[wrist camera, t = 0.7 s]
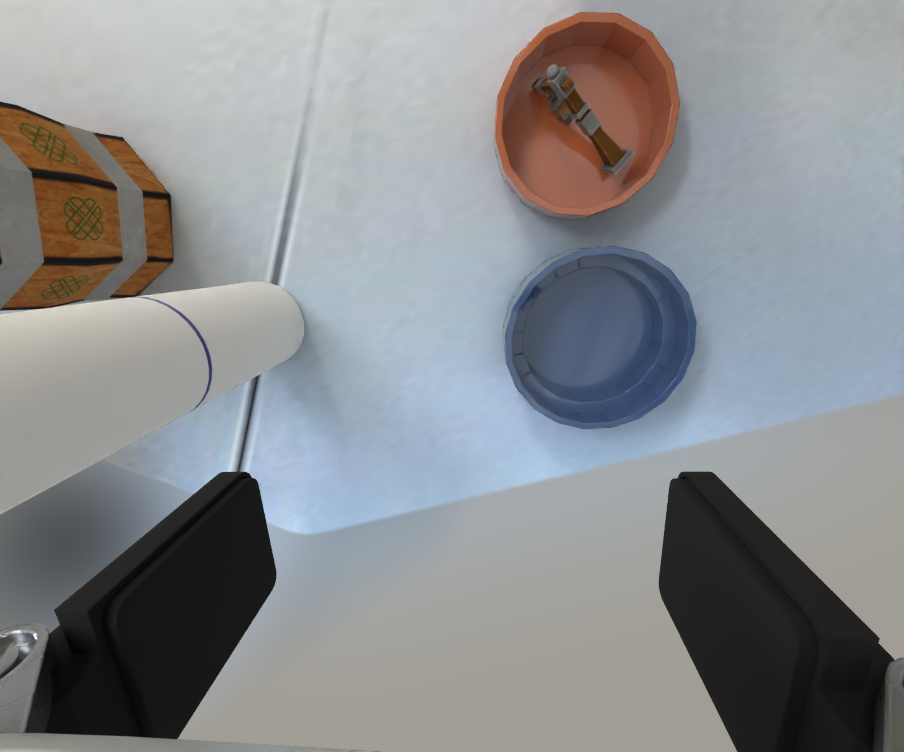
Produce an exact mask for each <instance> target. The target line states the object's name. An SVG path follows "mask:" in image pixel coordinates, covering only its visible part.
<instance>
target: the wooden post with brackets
mask: <svg viewBox="0 0 904 752" xmlns="http://www.w3.org/2000/svg"><path fill="white" fill-rule="evenodd" d="M547 76H548V77H549V78H548V77H547ZM547 76H542V77H541V78H537V79H536V81H535V82H534V83H533V85H532V86H531V87H532V88H533V89H534V90H535V92H538V93H539V92H540V94H546V95H549V98H548V101H551V102H552V104H551V106H550V108H549V109H548V110H553V111H554V112H555V114H556V115H557V117H558V120H559V121H565V122H566V123H570V122H572V120H573V119H576V121H575V123H576V124H577V125H578V126H579V128H580V129H581V130H582V132H583V134H584V135H587V136H588V137H589V138H590V140H591V141H592V142H593V144H594V146H595V148H596V149H597V151H598V153H599V155H600V156H601V158H602V161H603V163H604V164H603V165H602V166H601V167H600V168H601V170H602V172H604V173H608V174H613V175H616V174H617V173H618V172H619V171H620V170H621V168H622V167H623V166H624V165H625V164H626V163H627V162H628V161H629V159H630V158H631V157H632V156H633V155H634V154H635V152H633V151H632V149H627V148H621V147H619V146H618V145H617V144H616V143H615V142H614V141H613V140H612V139H611V138H610V137H609V136H608V135H607V134H606V132H605V131H604V130H603V129H602V127H601V126H600V125H601V122H600V121H599V120H598V118H597V117H596V115H595V114H594V111H593V109H589V107H590V105H589V104H588V102H584V101H583V100H582V98H581V97H580V95H579V94H578V92H577V91H576V89H575V87H576V84H575V83H574V82H573V80H572V79H571V77H570V76H569V74H568V73H567V71H566V68H565V67H563V68H558V66H557V65H555V64H552V65H550V66H549V67H548V69H547ZM546 92H548V94H547V93H546ZM551 92H552V93H551Z"/></svg>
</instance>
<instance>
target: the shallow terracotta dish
mask: <svg viewBox="0 0 904 752" xmlns="http://www.w3.org/2000/svg"><path fill="white" fill-rule="evenodd" d="M552 64H555V65H557V66H558V68H563V67H565V68H566V71H567V73H568V74H569V76H570V77H571V79H572V80H573V82H574V83H575V84H576V87H575V89H576V91H577V92H578V94H579V95H580V97H581V98H582V100H583V101H584V102H588V104H589V105H590V107H589V109H593V111H594V114H595V115H596V117H597V118H598V120H599V121H600V122H601V125H600V126H601V127H602V129H603V130H604V131H605V132H606V134H607V135H608V136H609V137H610V138H611V139H612V140H613V141H614V142H615V143H616V144H617V145H618V146H619V147H621V148H627V149H632V151H633V152H635V154H634V155H633V156H632V157H631V158H630V159H629V161H628V162H627V163H626V164H625V165H624V166H623V167H622V168H621V170H620V171H619V172H618V173H617V174H616V175H613V174H608V173H604V172H602V170H601V168H600V167H601V166H602V165H603V164H604V163H603V161H602V158H601V156H600V155H599V153H598V151H597V149H596V148H595V146H594V144H593V142H592V141H591V140H590V138H589V137H588V136H587V135H584V134H583V132H582V130H581V129H580V128H579V126H578V125H577V124H576V123H575V121H576V119H573V120H572V122H570V123H566V122H565V121H559V120H558V117H557V115H556V114H555V112H554V111H553V110H548V109H549V108H550V106H551V104H552V102H551V101H548V98H549V95H546V94H540V92H539V93H538V92H535V90H534V89H533V88H532V87H531V86H532V85H533V83H534V82H535V81H536V79H537V78H541V77H542V76H547V69H548V67H549V66H550V65H552ZM547 77H548V76H547ZM548 78H549V77H548ZM546 93H547V94H548V92H546ZM551 93H552V92H551ZM679 107H680V100H679V95H678V89H677V83H676V78H675V72H674V66H673V63H672V61H671V60H670V59H669V57H668V56H667V54H666V53H665V51H664V50H663V48H662V47H661V45H660V44H659V42H658V41H657V39H656V38H655V36H654V35H653V33H652V32H651V31H649V30H648V29H646V28H644V27H642V26H640V25H639V24H637V23H635V22H633V21H632V20H630V19H628V18H626V17H624V16H623V15H621V14H618V13H594V12H581V13H577V14H575V15H573V16H570V17H568V18H566V19H564V20H561V21H559V22H557V23H554V24H552V25H550V26H548V27H545V28H544V29H542V30H541V31H540V32H539V33H538V34H537V35H536V37H535V38H534V39H533V40H532V41H531V42H530V43H529V44H528V45H527V46H526V47H525V48H524V49H523V50H522V51H521V52H520V53H519V54H518V55H517V56H516V57H515V59H514V60H513V62H512V65H511V67H510V69H509V71H508V74H507V76H506V78H505V80H504V82H503V85H502V87H501V89H500V91H499V94H498V97H497V107H496V119H495V131H494V149H495V153H496V156H497V160H498V164H499V167H500V170H501V174H502V177H503V179H504V181H505V182H506V183H507V184H508V186H509V187H510V188H511V190H512V191H513V192H514V194H515V195H516V196H517V197H518V198H519V200H520V201H521V202H522V203H523V204H525V205H527V206H529V207H531V208H532V209H534V210H535V211H538V212H540V213H542V214H544V215H546V216H548V217H554V218H570V219H581V218H584V217H587V216H590V215H593V214H596V213H598V212H601V211H604V210H607V209H610V208H613V207H615V206H618V205H621V204H623V203H624V202H625V201H627V200H628V199H629V198H630V197H631V196H632V195H634V194H635V193H636V192H637V191H638V190H640V189H641V188H642V187H643V186H644V185H645V184H647V183H648V182H649V181H650V180H651V179H652V178H653V176H654V174H655V173H656V171H657V169H658V168H659V166H660V164H661V163H662V161H663V159H664V157H665V156H666V154H667V152H668V151H669V149H670V147H671V145H672V143H673V138H674V132H675V127H676V122H677V117H678V112H679Z"/></svg>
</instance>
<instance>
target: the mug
mask: <svg viewBox="0 0 904 752" xmlns="http://www.w3.org/2000/svg"><path fill="white" fill-rule="evenodd" d="M172 262H173V244H172V225H171V205H170V194H169V193H168V192H167V191H166V189H165V188H164V187H163V186H162V185H161V183H160V182H159V181H158V180H157V179H156V177H155V176H154V175H153V174H152V173H151V171H150V170H149V169H148V168H147V167H146V165H145V164H144V163H143V162H142V161H141V159H140V158H139V157H138V156H137V155H136V153H135V152H134V151H133V150H132V149H131V147H130V146H129V145H128V144H127V143H126V141H125V140H124V139H123V138H122V137H116V136H110V135H104V134H98V133H92V132H89V131H85V130H82V129H79V128H75V127H72V126H69V125H65V124H62V123H60V122H57V121H55V120H52V119H50V118H47V117H45V116H42V115H40V114H37V113H35V112H32V111H30V110H27V109H25V108H22V107H20V106H17V105H13V104H8V103H4V102H0V311H1V310H26V309H45V308H52V307H57V306H61V305H66V304H70V303H75V302H80V301H85V300H93V299H102V298H130V297H136V296H138V295H139V294H140V293H141V292H142V291H143V290H144V289H145V288H146V287H147V286H148V285H149V284H150V283H151V282H152V281H153V280H154V279H155V278H156V277H157V276H158V275H159V274H161V273H162V272H163V271H164V270H165V269H166V268H167V267H168V266H169V265H170V264H171V263H172Z"/></svg>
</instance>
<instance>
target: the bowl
mask: <svg viewBox="0 0 904 752" xmlns="http://www.w3.org/2000/svg"><path fill="white" fill-rule="evenodd" d="M503 334H504V350H505V357H506V363H507V366H508V369H509V371H510V374H511V376H512V379H513V381H514V384H515V386H516V388H517V390H518V391H519V392H520V393H521V394H522V396H523V397H524V398H525V399H526V400H527V401H528V402H529V404H530V405H531V406H532V407H533V408H534V409H535V410H537V411H539V412H540V413H542V414H544V415H545V416H547V417H549V418H550V419H552V420H554V421H555V422H558V423H561V424H565V425H569V426H574V427H578V428H582V429H594V428H612V427H615V426H618V425H621V424H624V423H627V422H630V421H633V420H636V419H639V418H641V417H642V416H644V415H645V414H647V413H648V412H650V411H651V410H652V409H654V408H655V407H657V406H658V405H660V404H661V403H663V402H664V401H665V400H666V399H667V397H668V396H669V395H670V394H671V393H672V391H673V390H674V389H675V388H676V387H677V385H678V384H679V383H680V382H681V380H682V379H683V378H684V375H685V373H686V370H687V368H688V365H689V363H690V361H691V358H692V356H693V353H694V349H695V335H696V318H695V315H694V311H693V308H692V304H691V301H690V297H689V294H688V292H687V291H686V289H685V288H684V287H683V285H682V284H681V283H680V281H679V280H678V279H677V277H676V276H675V275H674V273H673V272H672V271H671V270H670V269H669V268H668V267H666V266H664V265H663V264H661V263H660V262H658V261H657V260H655V259H654V258H652V257H650V256H649V255H647V254H645V253H643V252H638V251H634V250H630V249H625V248H621V247H617V246H604V247H590V248H580V249H572V250H569V251H566V252H564V253H562V254H559V255H557V256H555V257H552V258H550V259H548V260H546V261H544V262H543V263H542V264H541V265H540V266H538V267H537V268H536V269H535V270H534V271H533V272H531V273H530V274H529V275H528V276H527V277H525V279H524V280H523V281H522V283H521V284H520V286H519V288H518V289H517V291H516V292H515V294H514V295H513V297H512V299H511V300H510V302H509V306H508V310H507V313H506V317H505V321H504V325H503Z"/></svg>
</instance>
